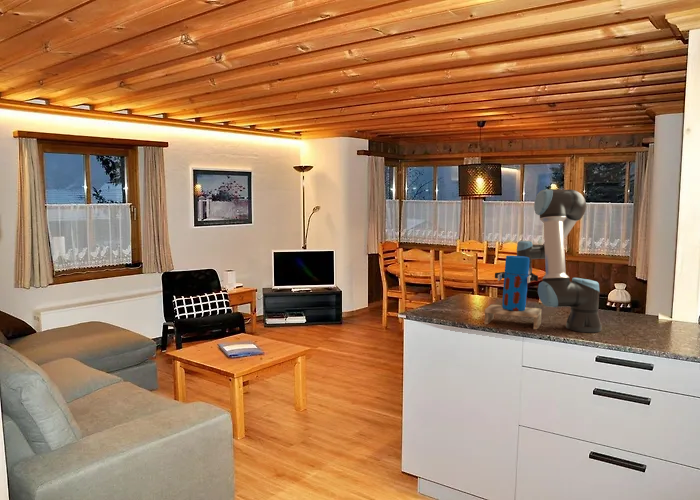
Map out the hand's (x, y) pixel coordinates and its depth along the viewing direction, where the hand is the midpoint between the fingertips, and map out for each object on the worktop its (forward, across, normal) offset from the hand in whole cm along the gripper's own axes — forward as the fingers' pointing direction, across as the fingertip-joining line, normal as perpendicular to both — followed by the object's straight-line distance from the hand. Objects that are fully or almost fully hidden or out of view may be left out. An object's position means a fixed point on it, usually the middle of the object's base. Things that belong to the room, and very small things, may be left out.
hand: (513, 279), depth 261 cm
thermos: (-3, 0, -15) cm, 15 cm away
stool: (-3, 0, -22) cm, 22 cm away
